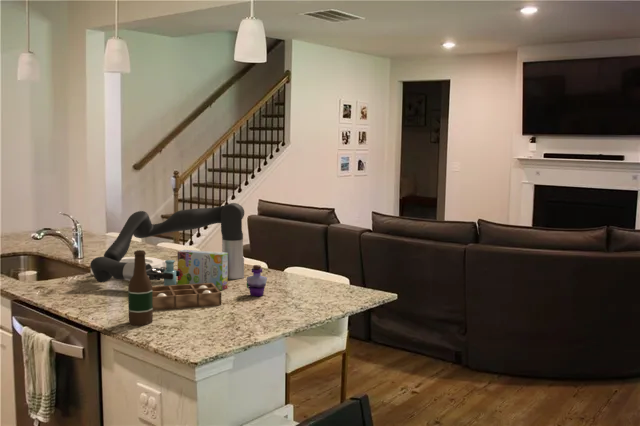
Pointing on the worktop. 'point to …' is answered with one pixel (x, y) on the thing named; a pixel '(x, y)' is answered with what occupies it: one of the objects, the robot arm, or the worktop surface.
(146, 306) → the beer bottle
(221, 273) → the snack box
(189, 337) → the worktop surface
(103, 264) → the robot arm
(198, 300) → the crate
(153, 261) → the white circle with bar
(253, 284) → the potion bottle
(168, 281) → the bud vase
